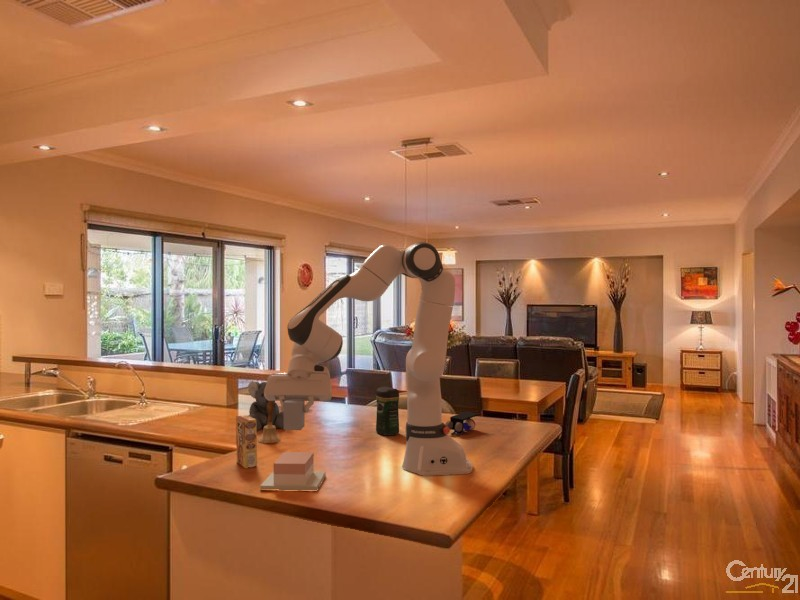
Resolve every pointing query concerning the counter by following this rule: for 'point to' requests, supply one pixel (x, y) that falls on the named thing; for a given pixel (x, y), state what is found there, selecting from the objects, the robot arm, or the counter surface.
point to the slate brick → (294, 414)
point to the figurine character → (461, 422)
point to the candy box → (246, 441)
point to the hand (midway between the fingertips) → (294, 411)
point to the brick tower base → (295, 487)
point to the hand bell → (269, 427)
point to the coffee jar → (387, 411)
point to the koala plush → (263, 407)
